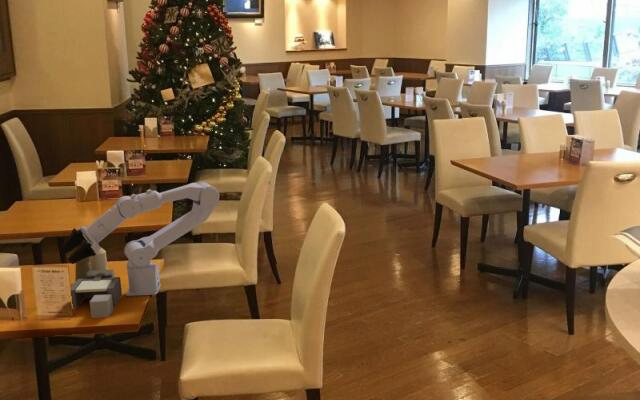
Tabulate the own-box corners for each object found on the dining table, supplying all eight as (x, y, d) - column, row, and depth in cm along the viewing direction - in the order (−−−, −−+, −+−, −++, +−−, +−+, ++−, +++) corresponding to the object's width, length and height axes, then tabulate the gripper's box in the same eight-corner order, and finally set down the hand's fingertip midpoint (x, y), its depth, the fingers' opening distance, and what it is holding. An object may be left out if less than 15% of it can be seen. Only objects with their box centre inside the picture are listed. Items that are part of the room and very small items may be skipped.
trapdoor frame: (122, 294, 206) (119, 276, 205) (114, 306, 198) (112, 288, 196) (80, 296, 206) (78, 278, 204) (71, 308, 197) (68, 290, 195)
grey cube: (113, 309, 196) (111, 294, 194) (109, 317, 191) (107, 301, 190) (96, 310, 195) (94, 295, 194) (91, 317, 191) (89, 301, 189)
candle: (88, 277, 222) (84, 249, 219) (101, 272, 226) (97, 244, 224) (99, 280, 219) (95, 251, 216) (112, 274, 224) (108, 247, 221)
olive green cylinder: (88, 288, 212) (84, 256, 209) (71, 287, 214) (67, 255, 211) (98, 281, 218) (94, 250, 215) (81, 280, 219) (77, 249, 216)
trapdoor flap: (116, 281, 208) (115, 269, 207) (106, 296, 197) (105, 283, 196) (87, 282, 208) (86, 270, 207) (76, 297, 196) (74, 285, 195)
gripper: (87, 208, 202) (51, 238, 199) (102, 226, 191) (64, 258, 188) (101, 223, 206) (66, 252, 203) (117, 242, 195) (79, 273, 192)
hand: (66, 256), depth 196 cm, fingers open, 7 cm apart
